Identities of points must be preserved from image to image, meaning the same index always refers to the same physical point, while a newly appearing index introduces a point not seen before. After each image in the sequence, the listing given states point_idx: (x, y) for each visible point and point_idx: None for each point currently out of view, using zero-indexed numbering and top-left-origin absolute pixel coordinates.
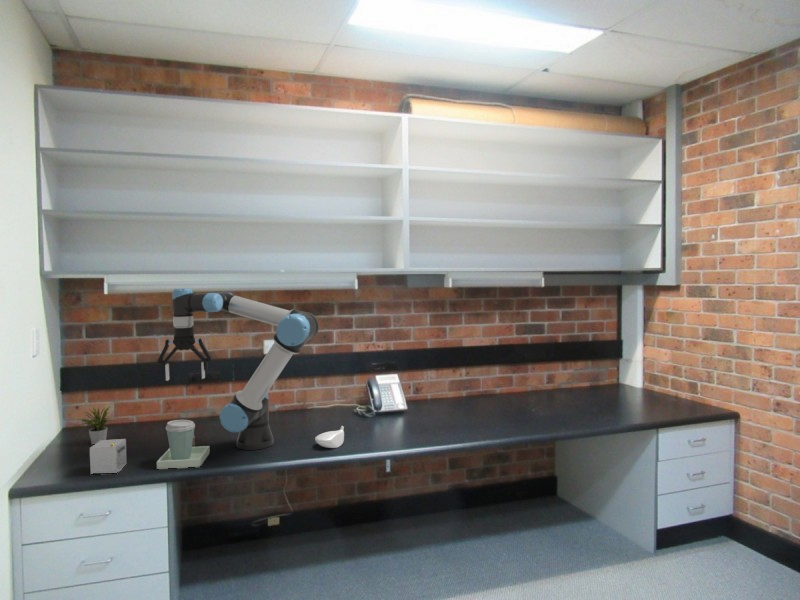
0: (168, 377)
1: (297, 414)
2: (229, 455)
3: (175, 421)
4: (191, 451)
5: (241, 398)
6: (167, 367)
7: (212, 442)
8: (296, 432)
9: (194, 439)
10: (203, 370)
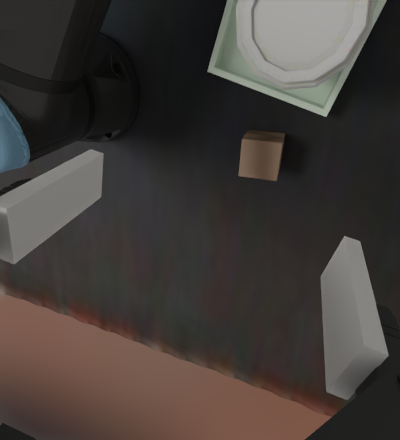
0: (335, 267)
1: (19, 264)
2: (161, 14)
3: (315, 66)
4: (263, 83)
5: None
6: (356, 321)
7: (197, 169)
8: None
9: (243, 137)
10: (48, 172)
